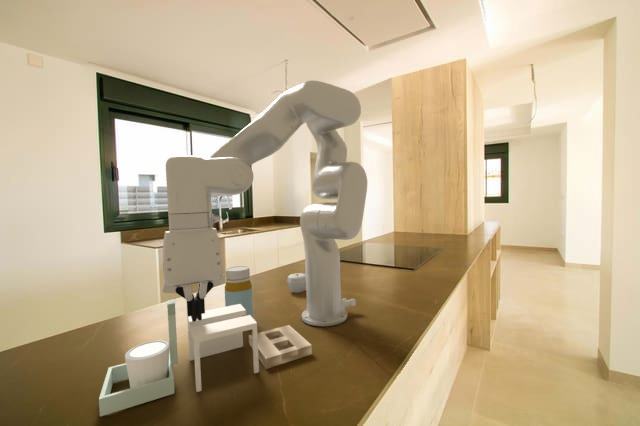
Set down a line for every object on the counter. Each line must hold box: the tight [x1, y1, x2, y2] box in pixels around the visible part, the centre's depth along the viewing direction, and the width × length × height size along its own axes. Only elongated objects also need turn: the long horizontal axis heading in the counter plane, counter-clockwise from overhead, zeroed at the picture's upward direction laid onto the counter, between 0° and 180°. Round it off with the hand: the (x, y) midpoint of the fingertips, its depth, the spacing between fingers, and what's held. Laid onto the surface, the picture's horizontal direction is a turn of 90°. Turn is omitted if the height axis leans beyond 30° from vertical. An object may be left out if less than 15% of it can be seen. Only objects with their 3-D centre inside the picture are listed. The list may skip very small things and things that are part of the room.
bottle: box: [224, 265, 254, 319], centre depth 78 cm, size 7×7×15 cm
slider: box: [98, 298, 179, 417], centre depth 51 cm, size 11×10×14 cm
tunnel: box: [186, 304, 260, 393], centre depth 58 cm, size 11×13×10 cm
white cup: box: [124, 339, 170, 389], centre depth 52 cm, size 7×7×7 cm
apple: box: [286, 272, 306, 294], centre depth 105 cm, size 8×8×7 cm
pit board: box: [248, 324, 313, 370], centre depth 64 cm, size 10×12×2 cm
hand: (196, 318), depth 56 cm, fingers closed
